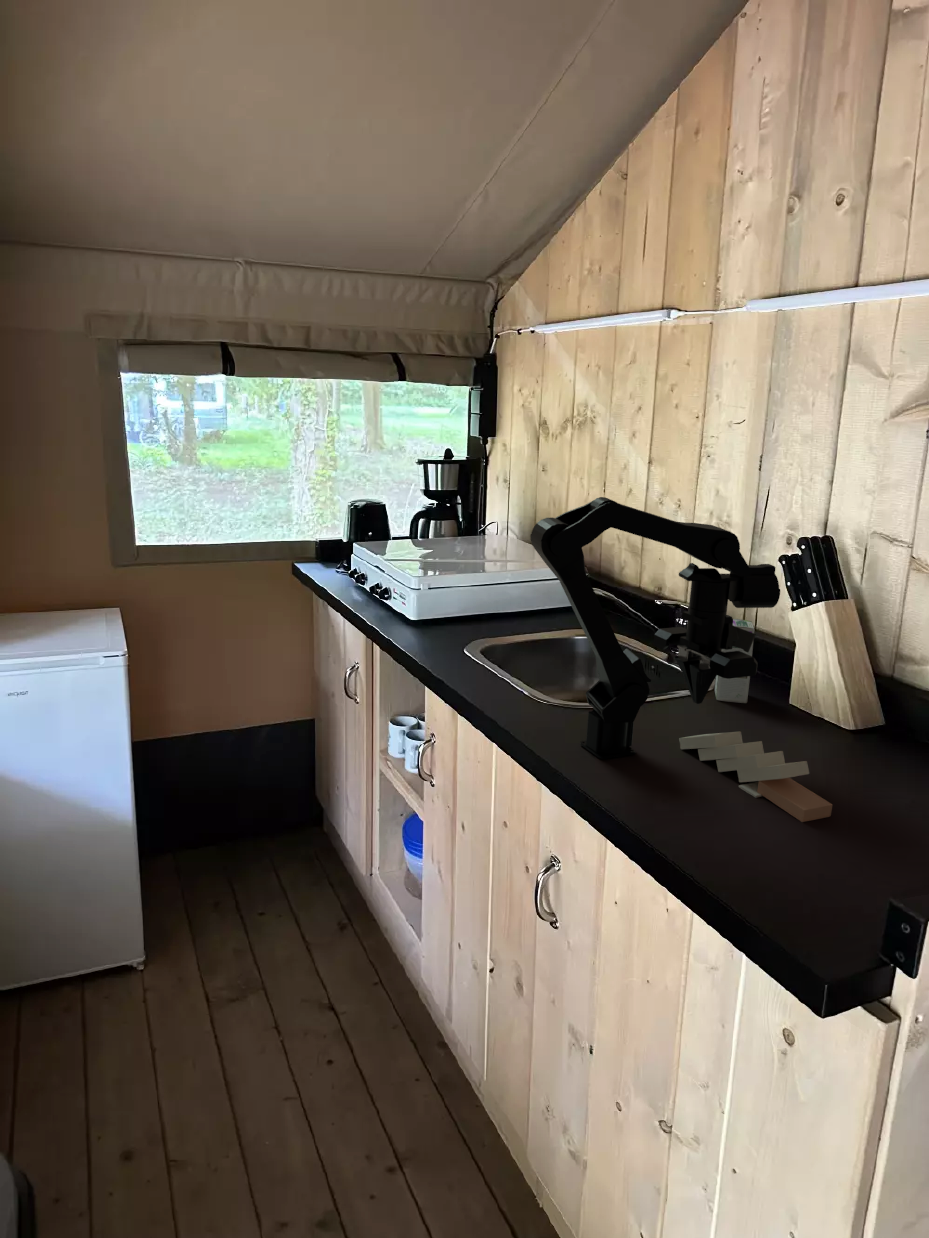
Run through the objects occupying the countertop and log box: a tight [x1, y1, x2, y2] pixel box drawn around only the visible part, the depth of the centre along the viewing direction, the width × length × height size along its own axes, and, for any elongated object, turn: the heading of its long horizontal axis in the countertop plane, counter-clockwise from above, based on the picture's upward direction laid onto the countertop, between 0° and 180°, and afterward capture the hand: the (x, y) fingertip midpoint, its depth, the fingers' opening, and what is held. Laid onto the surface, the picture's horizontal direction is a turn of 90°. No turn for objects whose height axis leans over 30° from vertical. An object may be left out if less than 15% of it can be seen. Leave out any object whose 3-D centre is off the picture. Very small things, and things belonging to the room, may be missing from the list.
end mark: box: [738, 781, 763, 798], centre depth 132 cm, size 6×4×1 cm, turn 114°
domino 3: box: [715, 750, 786, 773], centre depth 134 cm, size 2×5×9 cm
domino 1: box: [678, 731, 744, 750], centre depth 142 cm, size 2×5×9 cm
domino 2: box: [697, 740, 765, 762], centre depth 138 cm, size 2×5×9 cm
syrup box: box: [714, 618, 756, 704], centre depth 169 cm, size 6×6×14 cm
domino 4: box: [736, 760, 810, 783], centre depth 130 cm, size 2×5×9 cm
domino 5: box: [757, 777, 833, 823], centre depth 127 cm, size 2×5×9 cm
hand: (697, 702), depth 144 cm, fingers closed
